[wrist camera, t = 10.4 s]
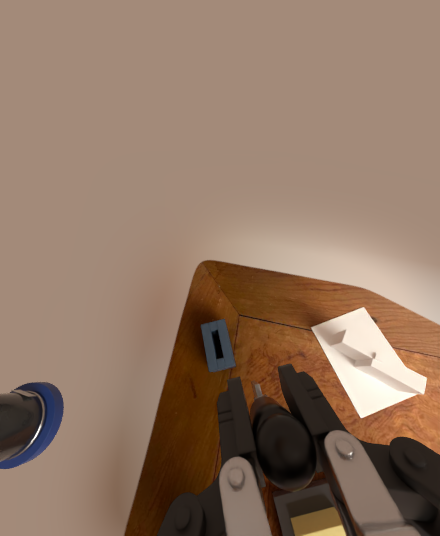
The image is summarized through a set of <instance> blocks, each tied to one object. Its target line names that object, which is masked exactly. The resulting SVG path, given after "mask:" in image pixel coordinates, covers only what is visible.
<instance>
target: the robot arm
mask: <svg viewBox="0 0 440 536" xmlns="http://www.w3.org/2000/svg"><path fill="white" fill-rule="evenodd" d="M278 372H279V378H280V383H281V388H282V392H283V395H284V398H285V400H286V403H287V405H288V407H289V410H290V412H291V414H292V415H293V416H294V417H295V418H297V419H298V420H299V421H300V422H301V423H302V424H303V425H304V426H305V427H306V429H307V430H308V432H309V433H310V435H311V437H312V439H313V442H314V444H315V448H316V454H317V466H316V472H317V473H319V472H324V474H325V476H326V479H327V481H328V483H329V488H330V493H331V496H332V498H333V501H334V504H335V507H336V509H337V512H338V515H339V517H340V520H341V523H342V526H343V528H344V531H345V534H346V536H440V455H439V454H437V453H436V452H434V451H433V450H431V449H429V448H428V447H426V446H425V445H423V444H421V443H420V442H418V441H416V440H414V439H411V438H407V437H397V438H394V439H393V440H392V441H391V442H390V445H381V444H373V443H367V442H364V441H361V440H359V439H357V438H356V437H354V436H353V435H351V434H350V433H349V432H348V431H347V430H346V429H345V427H344V426H343V424H342V423H341V421H340V420H339V418H338V417H337V415H336V414H335V412H334V410H333V409H332V407H331V406H330V404H329V403H328V401H327V400H326V398H325V397H324V395H323V393H322V392H321V390H320V389H319V388H318V386H317V384H316V383H315V381H314V379H313V378H312V377H311V376H309V375H308V374H307V373H305V372H304V371H303V372H299V373H296V371H295V369H294V368H293V366H292V364H287V365H283V366H279V367H278ZM227 382H228V389H229V391H226V392H222V393H220V395H219V398H218V402H217V408H218V420H219V433H220V445H221V457H222V462H221V468H220V472H219V474H218V476H217V478H216V480H215V481H214V482H213V483H212V484H211V485H210V486H209V487H208V488H207V489H205V490H204V491H203V492H201V493H200V494H199V495H197V496H196V495H194V494H193V493H183V494H181V495H180V496H178V497H177V498H176V499H175V500H174V501H173V502H172V504H171V505H170V507H169V509H168V511H167V513H166V516H165V518H164V520H163V523H162V525H161V527H160V529H159V532H158V534H157V536H272V534H271V530H270V527H269V523H268V520H267V516H266V508H265V503H264V498H263V494H262V489H261V488H262V487H266V484H265V480H264V476H263V471H262V469H261V467H260V465H259V462H258V459H257V450H256V446H255V440H254V434H253V428H252V424H251V419H250V415H249V411H248V407H247V402H246V398H245V394H244V391H243V387H242V383H241V379H240V377H236V378H233V379H229V380H227ZM12 391H14V392H16V393H3V394H0V462H2V461H5V460H9V459H12V458H15V457H17V456H19V455H21V454H23V453H24V452H26V451H27V450H28V449H29V448H30V447H31V446H32V445H33V444H34V443H35V442H36V440H37V439H38V437H39V436H40V434H41V432H42V430H43V428H44V425H45V422H46V418H47V404H46V401H45V399H44V397H43V396H42V395H41V394H40V393H39V392H36V391H22V390H12Z"/></svg>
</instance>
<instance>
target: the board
mask: <svg viewBox="0 0 440 536" xmlns="http://www.w3.org/2000/svg"><path fill="white" fill-rule="evenodd" d="M272 494H273V498H274V502H275V506H276V510H277V514H278V518H279V522H280V527H281V531H282V535H283V536H295V534H294V530H293V527H292V523H291V518H294V517H297V516H301V515H305V514H309V513H312V512H316V511H320V510H324V509H327V508H331V507H335V504H334V501H333V498H332V496H331V493H330V488H329V483H328V481H327V479H326V478H323V479H320V480H316V481H312V482H310V483H309V484H308V485H307V486H306V487H305V488H304V489H301V490H299V491H293V492H292V491H286V490H283V489H282V490H278V491H274V492H272ZM335 509H336V507H335ZM336 510H337V509H336Z"/></svg>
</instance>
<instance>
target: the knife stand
mask: <svg viewBox="0 0 440 536" xmlns="http://www.w3.org/2000/svg"><path fill="white" fill-rule="evenodd" d="M201 330H202V336H203V341H204V347H205V353H206V358H207V364H208V370H209V372H216V371H220V370H224V369H228V368H232V367H236V364H235V359H234V355H233V351H232V347H231V342H230V338H229V334H228V329H227V325H226V322H225V319H222V320H218V321H213V322H209V323H206V324H202V325H201ZM216 336H219V338H220V342H221V347H222V352H223V356H224V358H220V359H219V355H218V350H217V345H216V340H215V337H216Z"/></svg>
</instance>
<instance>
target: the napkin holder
mask: <svg viewBox="0 0 440 536" xmlns="http://www.w3.org/2000/svg"><path fill="white" fill-rule="evenodd" d="M311 328H312V330H313V332H314V334H315V336H316V338H317V339H318V341H319V343H320V345H321V347H322V349H323V350H324V352H325V354H326V356H327V358H328V359H329V361H330V363H331V365H332V367H333V369H334V370H335V372H336V374H337V376H338V378H339V380H340V381H341V383H342V385H343V387H344V389H345V390H346V392H347V394H348V396H349V398H350V400H351V401H352V403H353V405H354V407H355V409H356V411H357V412H358V414H359V416H360V418H363V417H366V416H368V415H370V414H373V413H375V412H377V411H379V410H382V409H384V408H386V407H389V406H391V405H393V404H396V403H398V402H400V401H403V400H405V399H407V398H410V397H412V396H414V395H417V394H424V392H425V387H426V381H427V378H426V377H424V376H422V375H420V374H418V373H416V372H414V371H412V370H410V369H408V368H406V367H405V366H404V364H403V363H402V361H401V360H400V358H399V357H398V356H397V354H396V353H395V351H394V350H393V348H392V347H391V346H390V344H389V343H388V341H387V340H386V338H385V337H384V336H383V334H382V333H381V331H380V330H379V328H378V327H377V326H376V324H375V323H374V321H373V320H372V318H371V317H370V316H369V314H368V313H367V311H366V310H365V308H364V307H362V308H360V309H357V310H355V311H352V312H350V313H347V314H344V315H342V316H339V317H337V318H334V319H331V320H329V321H326V322H324V323H321V324H318V325H316V326H313V327H311Z"/></svg>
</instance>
